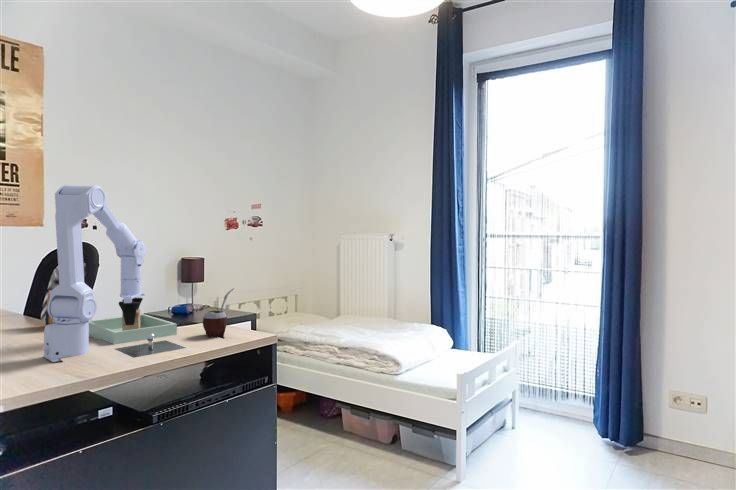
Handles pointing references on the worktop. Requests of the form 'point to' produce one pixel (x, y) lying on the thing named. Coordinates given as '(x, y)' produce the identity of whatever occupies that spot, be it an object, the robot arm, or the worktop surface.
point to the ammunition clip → (48, 318)
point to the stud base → (149, 347)
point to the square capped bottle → (136, 323)
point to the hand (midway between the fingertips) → (130, 323)
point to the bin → (147, 325)
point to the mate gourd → (215, 321)
